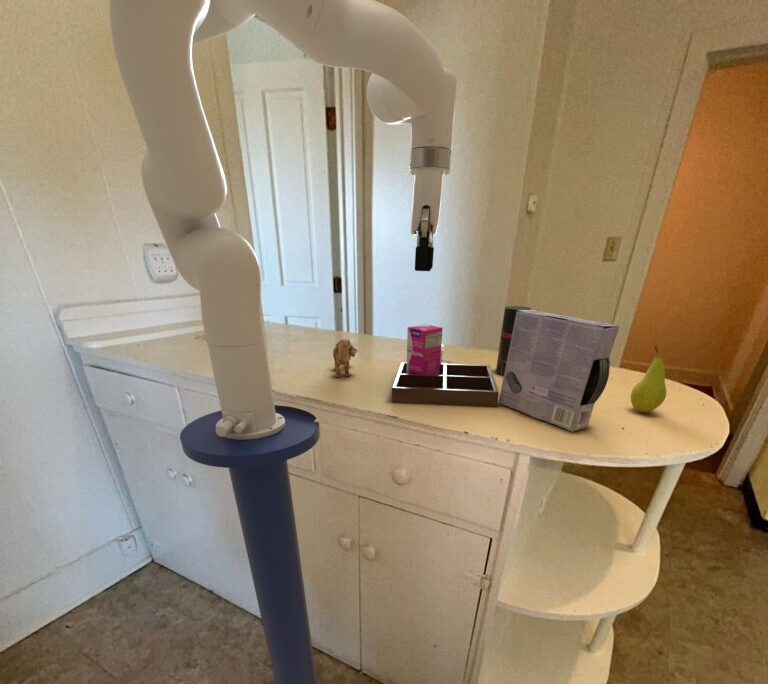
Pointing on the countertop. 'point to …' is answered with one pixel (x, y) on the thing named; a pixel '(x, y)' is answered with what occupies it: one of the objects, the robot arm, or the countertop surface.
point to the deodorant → (507, 336)
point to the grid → (447, 386)
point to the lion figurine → (343, 355)
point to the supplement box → (424, 349)
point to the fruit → (650, 387)
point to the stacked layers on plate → (441, 355)
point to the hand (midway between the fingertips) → (423, 269)
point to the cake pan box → (557, 367)
